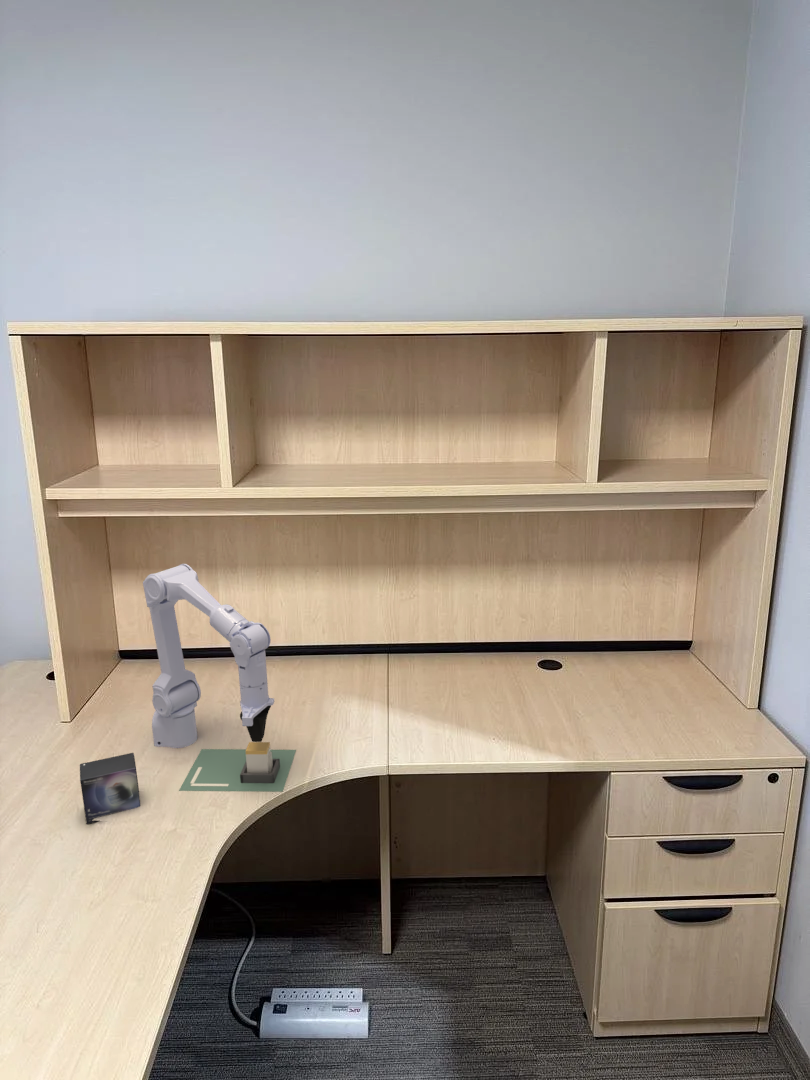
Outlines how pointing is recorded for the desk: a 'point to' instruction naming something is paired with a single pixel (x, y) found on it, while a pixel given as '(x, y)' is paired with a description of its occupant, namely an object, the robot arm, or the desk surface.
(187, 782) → the board
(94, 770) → the small box
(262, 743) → the plug
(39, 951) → the desk surface
